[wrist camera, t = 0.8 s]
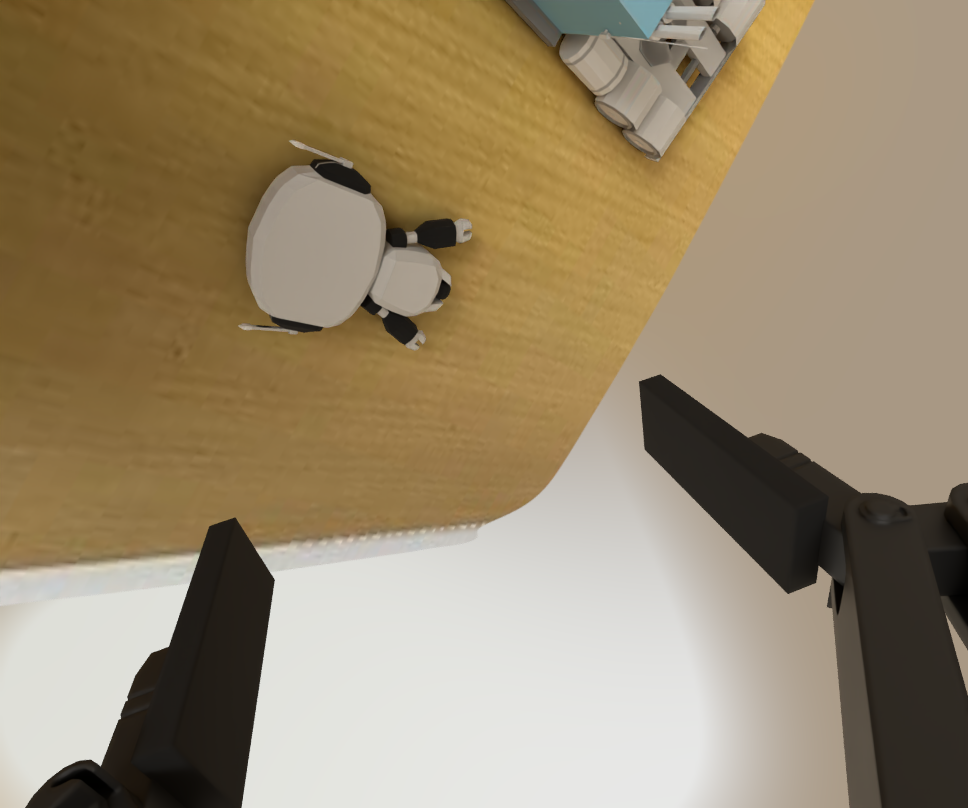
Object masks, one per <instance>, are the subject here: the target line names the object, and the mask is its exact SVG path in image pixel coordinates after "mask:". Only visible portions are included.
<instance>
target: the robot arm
mask: <svg viewBox="0 0 968 808" xmlns="http://www.w3.org/2000/svg"><path fill="white" fill-rule="evenodd" d="M639 386H640V399H641V410H642V423H643V435H644V447H645V450H646V451H647V452H648V453H649V454H650V455H651V456H652V457H653V458H654V459H655V460H656V461H657V462H658V463H659V464H660V465H661V466H662V467H663V468H664V469H665V470H666V471H667V472H668V473H669V474H670V475H671V476H672V477H673V478H674V479H675V480H676V482H677V483H679V485H681V487H682V488H684V489H685V490H686V492H688V494H689V495H690V496H691V497H692V498H693V499H694V500H695V501H696V502H697V503H698V504H699V505H700V506H701V507H702V508H703V509H704V510H705V511H706V512H707V513H708V514H709V515H710V516H711V517H712V518H713V519H714V520H715V521H716V522H717V523H718V524H719V525H720V526H721V527H722V528H723V529H724V530H725V531H726V532H727V533H728V534H729V535H730V536H731V537H732V538H733V539H734V540H735V541H736V542H737V543H738V544H739V545H740V546H741V547H742V548H743V549H744V550H745V551H746V552H747V553H748V554H749V555H750V556H751V557H752V558H753V559H754V560H755V561H756V562H757V563H758V564H759V565H760V566H761V567H762V568H763V569H764V570H765V571H766V572H767V573H768V574H769V575H770V576H771V577H772V578H773V579H774V580H775V581H776V582H777V583H778V584H779V585H780V586H781V587H782V588H783V589H784V590H785V592H787V593H788V594H789V593H792V592H794V591H796V590H799V589H802V588H804V587H807V586H809V585H812V584H814V583H816V580H817V572H818V566H820V567H821V568H823V569H824V570H825V571H826V572H827V573H828V574H829V575H830V576H832V581H831V586H830V592H829V598H828V604H827V607H829V608H832V609H833V621H834V632H835V643H836V655H837V667H838V679H839V690H840V702H841V713H842V725H843V737H844V748H845V760H846V771H847V783H848V795H849V805H850V808H968V695H967V691H966V688H965V684H964V680H963V677H962V673H961V670H960V666H959V662H958V659H957V655H956V651H955V648H954V644H953V641H952V637H951V633H950V630H949V626H948V623H947V619H946V615H947V617H948V619H949V620H950V622H951V624H952V625H953V627H954V628H955V630H956V632H957V633H958V635H959V637H960V638H961V640H962V641H963V643H964V645H965V646H966V648H967V650H968V483H964V484H960V485H958V486H956V487H954V488H953V489H952V490H951V493H950V495H949V499H948V502H944V503H932V504H922V505H907V504H906V503H904V502H903V501H900V500H898V499H896V498H894V497H891V496H887V495H883V494H878V493H862V494H861V493H860V492H858V491H857V490H855V489H854V488H852V487H851V486H849V485H848V484H846V483H845V482H843V481H842V480H840V479H839V478H838V477H836V476H834V475H833V474H831V473H830V472H828V471H827V470H826V469H824V468H823V467H821V466H820V465H818V464H817V463H815V462H811V460H810V459H809V458H808V457H806V456H805V455H803V454H802V453H798V451H797V450H796V449H795V448H793V447H791V446H790V445H789V444H787V443H786V442H784V441H783V440H781V439H777V438H775V437H772V436H769V435H766V434H763V433H760V434H757V435H755V436H752V437H749V438H747V437H746V436H744V435H743V434H742V433H741V432H739V431H738V430H736V429H735V428H734V427H732V426H731V425H730V424H728V423H727V422H725V421H724V420H723V419H721V418H720V417H719V416H717V415H716V414H714V413H713V412H712V411H710V410H709V409H707V408H706V407H705V406H703V405H702V404H701V403H699V402H698V401H697V400H695V399H694V398H692V397H691V396H690V395H688V394H687V393H686V392H684V391H683V390H681V389H680V388H679V387H677V386H676V385H674V384H673V383H672V382H670V381H669V380H667V379H666V378H665V377H663V376H662V375H657V376H654V377H651V378H649V379H646V380H642V381H639ZM274 581H275V580H274V578H273V576H272V575H271V573H270V572H269V570H268V568H267V567H266V565H265V564H264V562H263V561H262V559H261V557H260V556H259V554H258V553H257V551H256V549H255V548H254V546H253V545H252V543H251V542H250V540H249V538H248V537H247V535H246V534H245V532H244V530H243V529H242V527H241V526H240V524H239V523H238V521H237V519H236V518H232V519H229V520H226V521H223V522H220V523H218V524H215V525H212V526H209V529H208V532H207V535H206V538H205V541H204V544H203V547H202V550H201V553H200V556H199V559H198V562H197V565H196V568H195V571H194V574H193V577H192V580H191V583H190V586H189V589H188V591H187V594H186V597H185V600H184V603H183V606H182V609H181V612H180V615H179V618H178V621H177V624H176V627H175V630H174V633H173V636H172V639H171V642H170V645H169V647H167V648H164V649H162V650H159V651H156V652H153V653H151V654H150V656H149V657H148V659H147V660H146V661H145V663H144V664H143V666H142V667H141V669H140V670H139V671H138V673H137V674H136V676H135V678H134V681H133V683H132V686H131V689H130V691H129V694H128V697H127V698H128V701H126V702H125V704H124V707H123V710H122V713H121V719H120V720H118V723H117V725H116V728H115V731H114V733H113V736H112V739H111V741H110V744H109V747H108V750H107V752H106V755H105V757H104V760H103V762H102V765H101V766H99V765H98V764H97V763H95V762H93V761H92V760H83V761H78V762H75V763H73V764H71V765H69V766H67V767H65V768H63V769H62V770H60V771H59V772H58V773H56V774H55V775H54V776H53V777H51V778H50V779H49V780H48V781H47V782H46V783H45V784H44V785H43V786H42V787H41V788H40V789H39V790H38V791H37V792H36V793H35V794H34V795H33V797H32V798H31V800H30V801H29V803H28V805H27V806H26V807H25V808H241V807H242V800H243V793H244V786H245V779H246V772H247V766H248V759H249V752H250V745H251V738H252V732H253V725H254V718H255V711H256V704H257V697H258V691H259V684H260V677H261V670H262V663H263V657H264V649H265V643H266V636H267V629H268V622H269V616H270V609H271V602H272V595H273V588H274ZM945 614H946V615H945Z"/></svg>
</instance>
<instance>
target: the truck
mask: <svg viewBox="0 0 968 808" xmlns="http://www.w3.org/2000/svg"><path fill="white" fill-rule="evenodd" d="M505 1H506V2H507V3H508V4H509V5H510V6H511V7H512V8H513V9H514V10H515V11H516V13H517V14H518V15H519V16H520V17H521V18H522V19H523V20H524V21H525V22H526V23H527V24H528V25H529V26H530V27H531V28H532V30H533V31H534V32H535V33H536V34H537V35H538V36H539V37H540V38H541V39H542V40H543V41H544V42H545V43H546V44H547V46H552V47H555V45H556V44H557V42H558V40H559V38H560V37H561V35H562V33H565V34H566V35H565V37H564V39H563V41H562V43H561V46H560V51H559V55H560V57H561V59H562V60H563V62H564V63H565V64H566V65H567V66H568V67H569V68H570V69H571V70H572V71H573V72H574V73H575V75H576V76H577V77H578V78H579V79H580V80H581V81H582V82H583V83H584V84H585V85H586V86H587V87H588V88H589V89H590V90H591V91H592V92H593V93H594V94H595V95H598V96H597V97H596V99H595V100H596V101H595V103H594V104H595V106H596V107H597V109H598V111H599V112H600V113H601V114H602V115H603V116H604V117H606V118H607V119H608V120H610V121H611V122H612V123H614V124H616V125H618V126H620V127H623V128H624V129H623V130H622V133H623V135H624V137H625V139H626V140H627V141H628V142H629V143H630V144H632V145H633V146H634V147H636V148H637V149H639V150H640V151H642V152H644V153H646V155H645V157H646V158H647V159H650V160H653V161H656V162H658V161H659V160H660V159H661V157H662V156H663V154H664V153H665V151H666V150H667V148H668V147H669V145H670V144H671V142H672V141H673V139H674V138H675V136H676V135H677V133H678V132H679V131H680V129H681V128H682V126H683V125H684V123H685V122H686V120H687V119H688V117H689V116H690V114H691V113H692V111H693V110H694V108H695V107H696V106H697V104H698V103H699V101H700V100H701V98H702V97H703V95H704V94H705V92H706V91H707V89H708V88H709V86H710V85H711V83H712V82H713V80H714V79H715V78H716V76H717V75H718V73H719V72H720V70H721V69H722V67H723V66H724V64H725V63H726V61H727V60H728V58H729V57H730V55H731V54H732V52H733V51H734V50H735V48H736V47H737V45H738V44H739V42H740V41H741V39H742V38H743V36H744V35H745V33H746V32H747V30H748V29H749V27H750V26H751V25H752V23H753V22H754V20H755V19H756V17H757V16H758V14H759V13H760V11H761V10H762V8H763V7H764V5H765V0H505ZM663 23H665V24H666V25H664V24H663ZM667 38H669V39H672V41H671V42H665V40H666V39H667ZM719 41H720V43H719ZM668 44H669V45H668ZM686 54H687V55H688V56H689V58H690V59H691V62H690V63H689V64H688V66H687V67H686V69H685V70H684V72H683V74H682V75H681V77H680V76H679V74H678V73H677V72H676V69H677V67H678V66H679V64H680V63H681V61H682V60H683V58H684V57H685V55H686ZM696 67H697V69H698V70H699V72H700V74H699V75H698V77H697V78H696V80H695V81H694V83H693V84H692V86H691V87H690V89H689V88H688V86H687V85H686V82H687V81H688V79H689V78H690V76H691V75H692V73H693V72H694V70H695V69H696Z"/></svg>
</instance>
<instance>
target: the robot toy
mask: <svg viewBox="0 0 968 808" xmlns="http://www.w3.org/2000/svg"><path fill="white" fill-rule="evenodd" d="M290 142H291V143H292V144H293V145H294V146H296V147H298V148H301V149H303V150H304V149H306V150H308V151H311V152H313V153H316V154H319V155H321V156H324V157H327V158H329V159H332V160H328V159H314V160H313V161H312V163H311V164H310V165H305V166H291V167H289V168H288V169H286V170H285V171H284V172H282V173H281V174H279V175H278V176H277V177H276V178H275V179H274V180H273V182H272V183H271V184H270V186H269V187H268V189H267V190H266V192H265V194H264V195H263V197H262V199H261V201H260V203H259V205H258V207H257V209H256V212H255V214H254V216H253V218H252V220H251V222H250V225H249V227H248V237H247V249H246V274H247V279H248V283H249V286H250V288H251V291H252V293H253V295H254V297H255V299H256V301H257V304H258V306H259V308H260V309H262V310H263V311H265V312H266V313H268V314H269V316H270V318H271V320H272V322H273V323H275V324H277V325H279V326H280V327H274V326H261V325H251V324H246V323H242V324H241V325H239V327H240V328H242V329H244V330H252V329H254V330H269V331H284V332H288V333H289V334H297V333H298V331H299V332H304V333H305V332H314V331H321V330H322V328H323V327H326V328H328V327H333V326H337V325H340V324H341V323H343V322H344V321H345V320H347V319H348V318H349V317H351V316H352V315H353V314H354V312H355V311H356V310H357V309H358V307H359V306H360V305H361V306H362V307H363V308H364V309H365V310H367V311H368V312H369V313H370V314H372V315H375V314H376V313H377V314H378V315H380V316H381V317H382V321H383V324H384V326H385V329H386V331H387V332H388V333H390V334H391V335H392V336H393V337H394V338H396V339H397V340H398V341H399V342H401V343H402V344H404V345H406V347H407V348H409V349H412V350H417V349H418V348H419V347H420V346H419V345H418V344H417V343H416V342H417V341H418V340H419V341H420V342H421V343H422V344H423V343H424V342H425V340H426V337H425V335H424V333H423V332H422V331H420V330H418V329H417V326H416V325H415V324H414V323H413V322H412V321H411V320H410V319H409V318H407V317H408V316H417V315H419V314H421V313H422V312H430V311H436V310H437V309H438V308H439V307H440V306H441V305H442V304H443V302H442V301H441V300H440V299H446V298H447V297H448V295H449V293H450V290H451V287H450V286H451V276H450V275H449V274H448V273H447V272H446V271H445V270H444V269H443V268H442V267H441V264H440V262H439V261H438V260H437V259H436V258H435V257H434V256H433V255H432V254H431V253H429V252H428V251H427V250H426V249H425V248H424V247H423V246H421V245H424V246H427V247H430V248H433V249H437V248H444V247H451V246H455V244H456V242H458V243H463V242H465V241H468V240H470V238H471V236H472V232H470V231H465V232H463V231H464V230H465V229H472V224H471V222H470V221H469V219H462V218H461V219H458V220H457V221H455V222H454V223H453V221H452V220H451V219H439V220H430V221H425V222H424V223H423V224H421V225H420V226H419V227H418V228H417V229H416V230H414V231H412V232H405V231H404V230H403V229H402V228H392V229H386V220H385V216H384V212H383V208H382V206H381V205H380V203H379V202H378V201H377V200H376V199H375V198H374V197H373V195H372V194H371V186H370V184H369V183H368V182H367V181H366V180H365V179H364V178H363V177H362V176H361V175H360V174H359V173H358V172H357V171H356V170H355V169H353V168H352V166H353V163H352V162H351V161H349V160H347V159H345V158H342V157H340V158H337V157H335V156H332V155H330V154H327V153H324V152H322V151H319V150H317V149H314V148H312V147H309V146H307V145H304V144H303V143H301V142H299V141H296V140H290ZM385 236H386V238H385ZM416 242H417V243H416ZM420 244H421V245H420Z"/></svg>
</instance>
